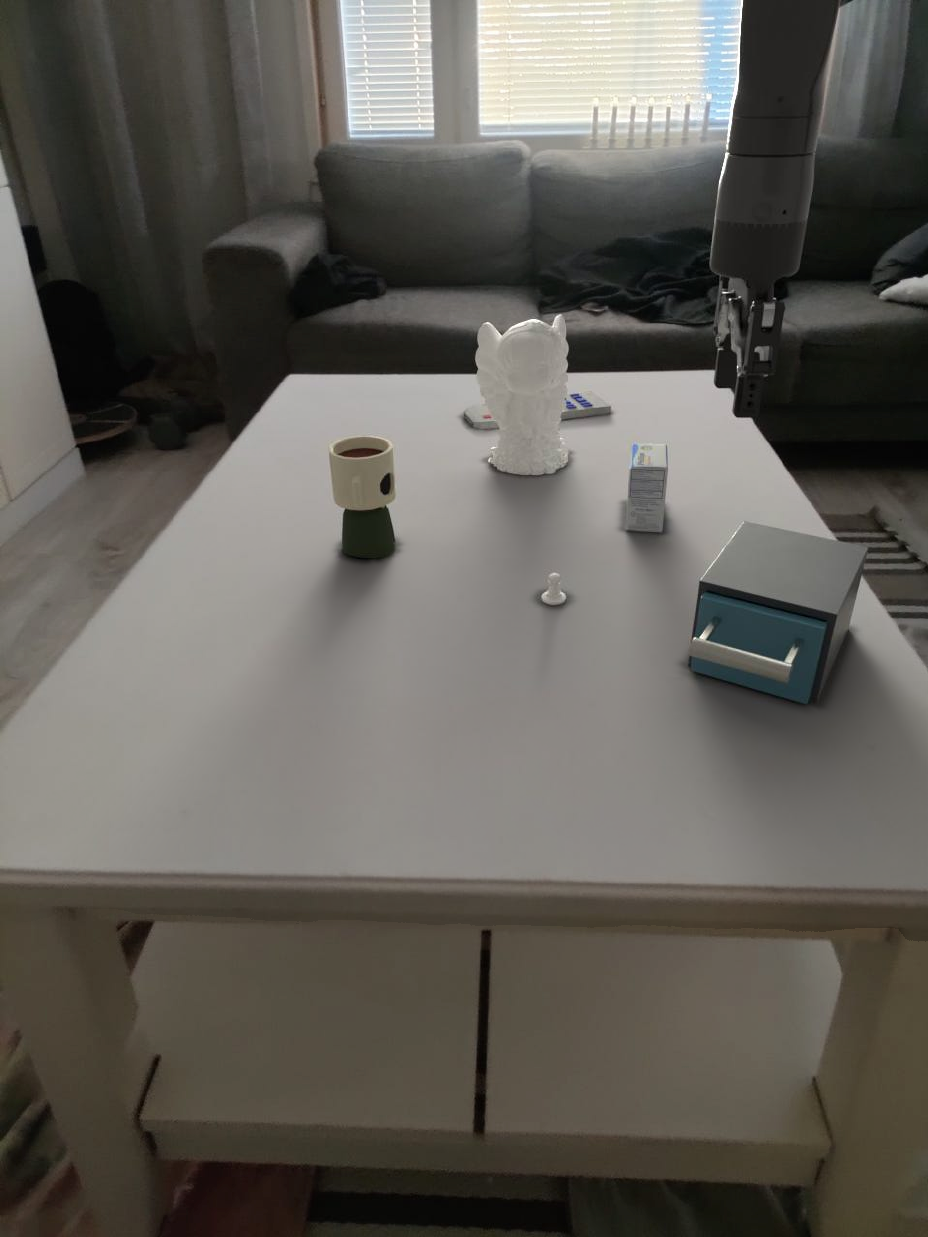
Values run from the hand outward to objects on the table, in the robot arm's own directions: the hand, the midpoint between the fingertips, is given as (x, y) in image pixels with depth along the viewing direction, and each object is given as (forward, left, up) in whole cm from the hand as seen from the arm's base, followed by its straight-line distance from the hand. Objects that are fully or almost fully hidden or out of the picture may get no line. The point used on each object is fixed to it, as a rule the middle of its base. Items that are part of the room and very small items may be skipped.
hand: (734, 401), depth 83 cm
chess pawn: (+13, +10, -21) cm, 27 cm away
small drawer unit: (-9, +8, -21) cm, 24 cm away
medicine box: (+12, -13, -21) cm, 28 cm away
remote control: (+41, -41, -21) cm, 62 cm away
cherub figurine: (+34, -23, -21) cm, 47 cm away
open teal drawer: (-9, +12, -20) cm, 25 cm away
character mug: (+37, +10, -21) cm, 44 cm away
